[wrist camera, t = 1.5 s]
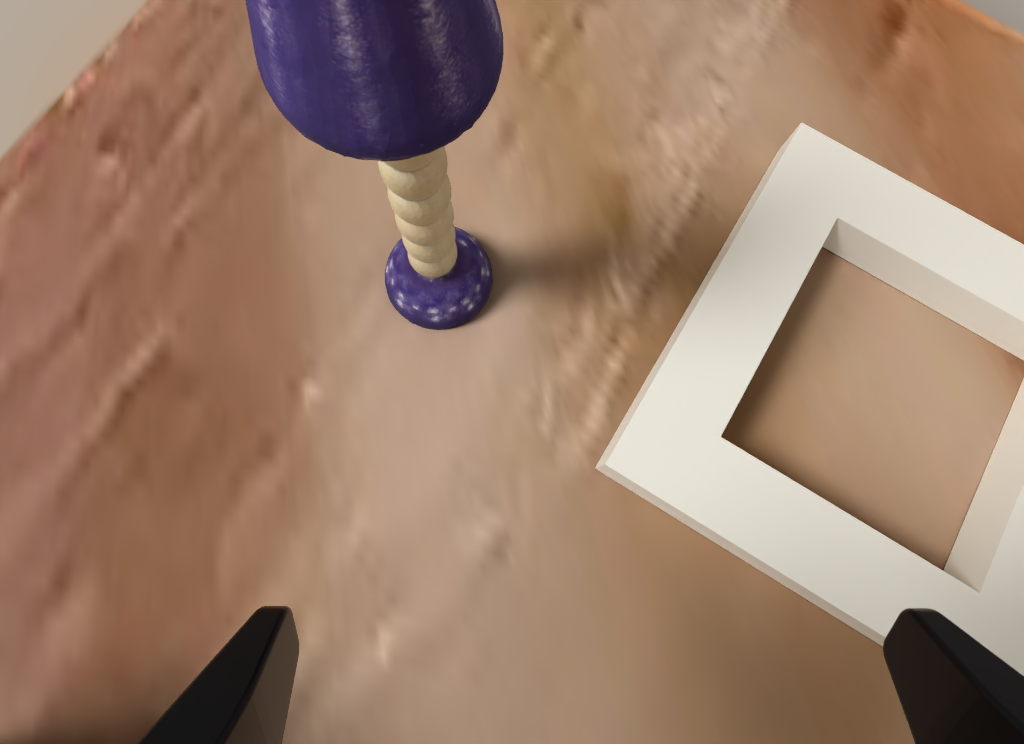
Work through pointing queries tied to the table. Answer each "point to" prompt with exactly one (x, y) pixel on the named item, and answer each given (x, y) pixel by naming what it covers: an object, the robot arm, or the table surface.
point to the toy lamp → (393, 120)
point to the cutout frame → (739, 350)
